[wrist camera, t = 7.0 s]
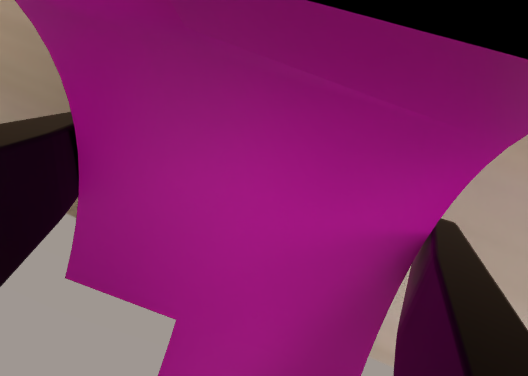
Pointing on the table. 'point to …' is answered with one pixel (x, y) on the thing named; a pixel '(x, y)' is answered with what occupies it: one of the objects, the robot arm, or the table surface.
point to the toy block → (276, 160)
